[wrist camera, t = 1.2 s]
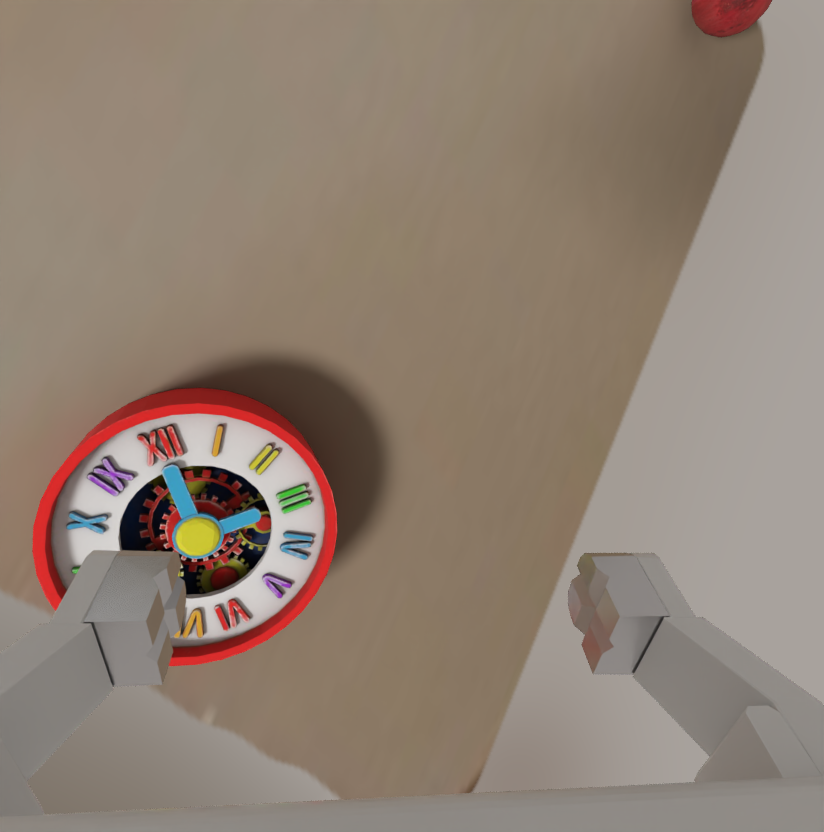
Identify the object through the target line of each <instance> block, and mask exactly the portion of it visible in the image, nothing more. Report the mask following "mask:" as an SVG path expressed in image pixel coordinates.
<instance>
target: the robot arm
mask: <svg viewBox="0 0 824 832" xmlns="http://www.w3.org/2000/svg"><path fill="white" fill-rule="evenodd" d="M577 567H578V569H579V571H580V575H578V576H577V577H576V578H574V579H573V580H572V581H571V584H570V587H569V591H568V606H569V611H570V616H571V618H572V621H573V624H574V626H575V627H576V628H578V629H579V630H580V631H581V632H582V633H583V634H584V635H585V636H584V639H583V642H582V647H583V650H584V652H585V655H586V658H587V660H588V663H589V665H590V668H591V670H592V673H593V674H627V675H628V674H629V675H630V674H632V675H634V676H633V677H634V678H635V680H636V681H637V682H638V683H639V684H640V685H641V686H642V687H643V688H644V689H645V690H646V691H647V692H648V693H649V694H650V695H651V696H652V697H653V698H654V699H655V700H656V701H657V702H658V703H659V705H660V706H661V707H662V708H664V710H665V711H666V712H667V713H668V714H669V715H670V716H671V717H672V718H673V719H674V720H675V721H676V722H677V723H678V724H679V725H680V726H681V727H682V728H683V729H684V730H685V732H687V734H689V736H690V737H691V738H692V739H693V740H694V741H695V742H696V743H697V744H698V745H699V746H700V747H701V748H702V749H703V750H704V751H705V752H706V753H707V754H708V755H709V756H710V757H709V758H708V760H707V761H706V762H705V764H704V765H703V766H702V768H701V769H700V770H699V772H698V773H697V775H696V777H695V779H694V781H695V782H689V783H671V784H670V783H669V784H649V785H631V786H608V787H588V788H569V789H568V788H567V789H547V790H528V791H506V792H485V793H465V794H444V795H424V796H404V797H384V798H364V799H344V800H324V801H307V802H306V801H304V802H284V803H264V804H244V805H224V806H206V807H184V808H165V809H144V810H124V811H104V812H84V813H64V814H44V811H43V809H42V807H41V805H40V803H39V801H38V800H37V798H36V796H35V795H34V793H33V791H32V789H31V788H30V786H29V784H28V783H27V781H28V779H29V778H30V777H31V776H32V775H33V774H34V773H35V772H36V771H37V770H38V769H39V768H40V767H41V766H42V765H43V764H44V763H45V761H47V759H48V758H49V757H50V756H51V755H52V754H53V753H54V752H55V751H56V750H57V749H58V748H59V747H60V746H61V745H62V744H63V743H64V742H65V740H66V739H67V738H68V737H69V736H70V735H71V734H72V733H73V732H74V731H75V730H76V729H77V728H78V727H79V726H80V725H81V724H82V723H83V722H84V720H85V719H86V718H87V717H88V716H89V715H90V714H91V713H92V712H93V711H94V710H95V709H96V708H97V707H98V705H100V704H101V703H102V701H103V700H104V699H105V698H106V697H107V696H108V695H109V694H110V693H111V692H112V691H113V687H121V686H138V685H139V686H141V685H161V684H163V682H164V678H165V675H166V672H167V669H168V666H169V663H170V660H171V657H172V654H173V648H172V644H171V638H172V637H173V636H174V635H175V634H176V633H177V632H178V631H180V628H181V625H182V621H183V618H184V612H185V605H186V587H185V581H184V580H183V579H181V578H180V577H179V576H178V574H179V571H180V568H181V561H180V557H179V553H177V552H162V551H127V550H121V551H112V550H93V551H92V552H91V553H90V554H88V555H87V556H86V558H85V559H84V561H83V563H82V565H81V567H80V568H79V570H78V572H77V574H76V576H75V577H74V579H73V581H72V583H71V585H70V586H69V588H68V590H67V592H66V594H65V595H64V597H63V599H62V601H61V602H60V604H59V606H58V608H57V610H56V611H55V613H54V615H53V617H52V619H51V620H50V622H49V624H39V625H38V626H36V627H35V628H33V629H32V630H31V631H30V632H28V633H27V634H25V635H24V636H22V637H21V638H20V639H18V640H17V641H15V642H14V643H13V644H11V645H10V646H8V647H7V648H6V649H4V650H3V651H1V652H0V832H824V705H823V704H822V702H820V701H819V700H817V699H816V698H815V697H813V696H812V695H811V694H809V693H808V692H807V691H805V690H804V689H802V688H801V687H800V686H798V685H797V684H795V683H794V682H793V681H791V680H790V679H788V678H787V677H785V676H784V675H783V674H781V673H780V672H779V671H777V670H776V669H774V668H773V667H772V666H770V665H769V664H768V663H766V662H765V661H763V660H762V659H760V658H759V657H758V656H756V655H755V654H754V653H752V652H751V651H749V650H748V649H747V648H745V647H744V646H742V645H741V644H739V643H738V642H737V641H735V640H734V639H732V638H731V637H730V636H728V635H727V634H726V633H724V632H723V631H722V630H720V629H719V628H717V627H716V626H714V625H713V624H712V623H710V622H709V621H707V620H706V619H705V618H703V617H696V616H695V615H694V613H693V611H692V610H691V608H690V606H689V605H688V603H687V602H686V600H685V598H684V597H683V595H682V594H681V592H680V590H679V589H678V587H677V585H676V584H675V583H674V581H673V579H672V577H671V576H670V574H669V573H668V571H667V569H666V568H665V566H664V564H663V563H662V561H661V560H660V558H659V557H658V556H657V555H656V554H654V553H584V555H582V556H581V557H580V560H579V562H578V565H577ZM43 814H44V815H43Z"/></svg>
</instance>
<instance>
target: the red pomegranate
mask: <svg viewBox="0 0 824 832" xmlns="http://www.w3.org/2000/svg"><path fill="white" fill-rule="evenodd" d="M771 2H772V0H692V16H693V18H694V21H695V24H696V25H697V26H698V27H699V28H700V29H701V30H702V31H703V32H704V33H705V34H709V35H713V36H717V37H725V36H730V35H734V34H737V33H740V32H742V31H744V30H745V29H747V28H749V27H750V26H751V25H752V24H753V23H755V22H756V21H757V20H758V19H759V18H760V17H761V16H762V15H763V14H764V12H765V11H766V10H767V9H768V7H769V5H770V3H771Z"/></svg>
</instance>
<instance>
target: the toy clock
mask: <svg viewBox="0 0 824 832" xmlns="http://www.w3.org/2000/svg"><path fill="white" fill-rule="evenodd" d="M336 537H337V512H336V507H335V503H334V498H333V493H332V490H331V488H330V485H329V483H328V481H327V479H326V477H325V474H324V472H323V470H322V468H321V466H320V464H319V462H318V460H317V459H316V457H315V455H314V453H313V451H312V449H311V448H310V446H309V445H308V443H307V442H306V440H305V439H304V437H303V436H302V435H301V433H300V432H299V431H298V430H297V429H296V428H295V427H294V426H293V425H292V424H291V423H290V422H289V421H288V420H287V419H286V418H285V417H283V416H282V415H280V414H279V413H277V412H276V411H274V410H273V409H272V408H270V407H269V406H267V405H265V404H263V403H260V402H258V401H256V400H254V399H252V398H250V397H247V396H244V395H240V394H237V393H233V392H229V391H226V390H217V389H208V388H188V389H175V390H170V391H166V392H161V393H156V394H152V395H149V396H147V397H144V398H142V399H139V400H137V401H134V402H132V403H129V404H127V405H126V406H124V407H122V408H121V409H119V410H117V411H116V412H114V413H112V414H111V415H109V416H107V417H106V418H105V419H104V420H103V421H102V422H100V423H99V424H98V425H97V426H96V427H95V428H94V429H92V430H91V431H90V432H89V433H88V434H87V435H86V437H85V438H84V439H83V440H82V441H81V443H80V444H79V445H78V446H77V447H76V449H75V450H74V451H73V452H72V453H71V455H70V456H69V457H68V458H67V460H66V461H65V462H64V463H63V465H62V466H61V467H60V469H59V470H58V471H57V472H56V474H55V475H54V476H53V478H52V479H51V481H50V483H49V485H48V487H47V489H46V491H45V493H44V495H43V497H42V499H41V501H40V505H39V508H38V512H37V516H36V519H35V523H34V527H33V557H34V563H35V568H36V574H37V577H38V579H39V582H40V584H41V587H42V589H43V591H44V594H45V596H46V598H47V600H48V601H49V602H50V604H51V605H52V607H53V608H54V610H55V611H56V610H57V608H58V606H59V604H60V602H61V601H62V599H63V597H64V595H65V594H66V592H67V590H68V588H69V586H70V585H71V583H72V581H73V579H74V577H75V576H76V574H77V572H78V570H79V568H80V567H81V565H82V563H83V561H84V559H85V558H86V556H87V555H88V554H90V553H91V552H92V551H93V550H112V551H121V550H127V551H162V552H177V553H179V557H180V561H181V568H180V571H179V574H178V576H179V577H180V578H181V579H183V580H184V581H185V587H186V605H185V612H184V618H183V621H182V625H181V628H180V631H178V632H177V633H176V634H175V635H174V636H173V637H172V638H171V644H172V648H173V654H172V657H171V660H170V663H169V666H181V665H197V664H202V663H207V662H212V661H217V660H222V659H225V658H228V657H231V656H234V655H236V654H239V653H242V652H245V651H247V650H249V649H251V648H253V647H255V646H257V645H259V644H261V643H263V642H264V641H266V640H268V639H269V638H271V637H272V636H274V635H275V634H276V633H278V632H279V631H281V630H282V629H283V628H285V627H286V626H287V625H288V624H289V623H290V622H291V621H292V620H294V619H295V618H296V617H297V616H298V615H299V614H300V613H301V612H302V611H303V610H304V608H305V607H306V606H307V605H308V603H309V602H310V601H311V599H312V598H313V597H314V596H315V594H316V593H317V591H318V589H319V587H320V586H321V584H322V582H323V580H324V578H325V576H326V575H327V572H328V569H329V566H330V563H331V561H332V558H333V555H334V550H335V543H336Z"/></svg>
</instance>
